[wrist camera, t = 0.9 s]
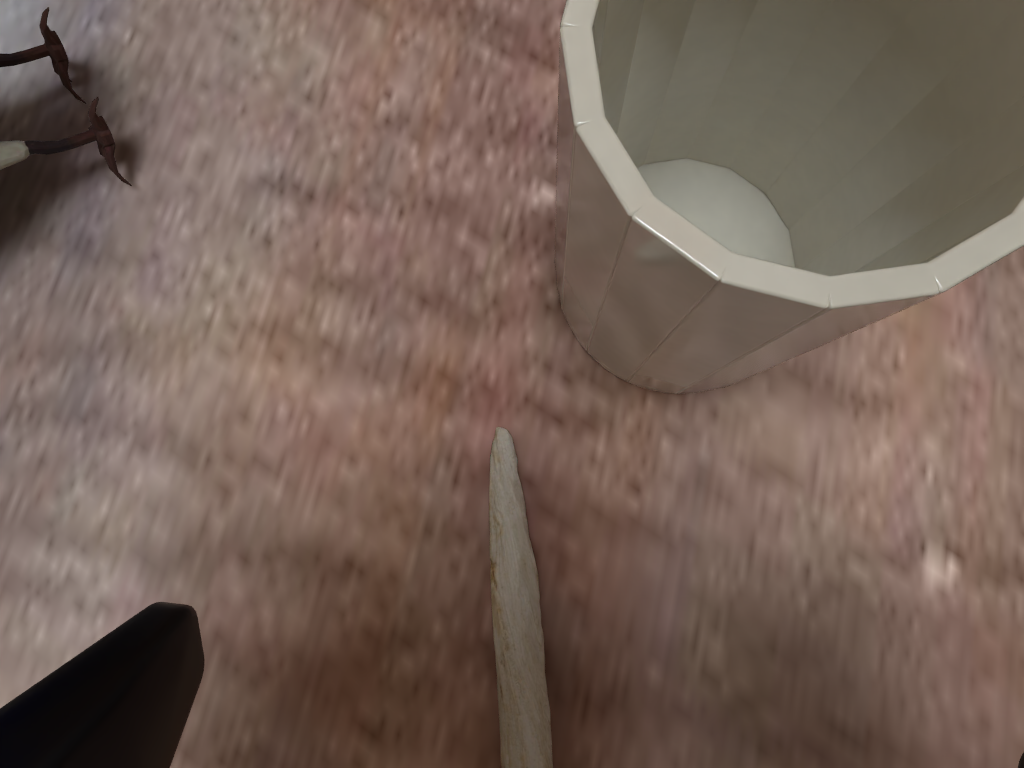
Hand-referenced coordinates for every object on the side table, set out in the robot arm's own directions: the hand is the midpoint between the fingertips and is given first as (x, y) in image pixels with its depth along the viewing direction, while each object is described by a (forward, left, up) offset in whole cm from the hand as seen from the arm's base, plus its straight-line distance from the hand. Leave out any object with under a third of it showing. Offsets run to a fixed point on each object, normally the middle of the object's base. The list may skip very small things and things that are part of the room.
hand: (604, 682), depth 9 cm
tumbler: (+7, -4, -13) cm, 15 cm away
